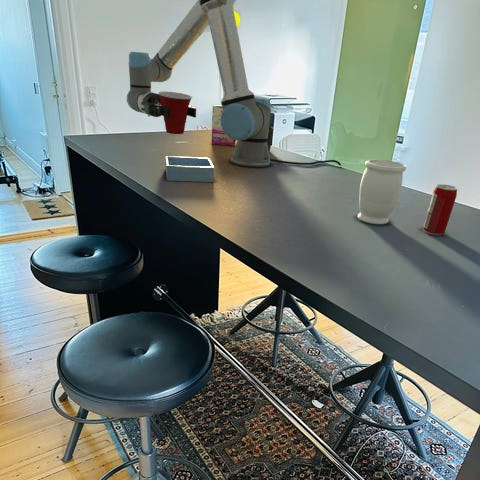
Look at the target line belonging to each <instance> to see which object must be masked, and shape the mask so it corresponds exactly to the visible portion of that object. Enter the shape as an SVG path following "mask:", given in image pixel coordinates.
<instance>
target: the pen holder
mask: <svg viewBox="0 0 480 480" xmlns="http://www.w3.org/2000/svg"><path fill="white" fill-rule="evenodd" d="M273 133H274V127H272V126H269V131H268V141H267V145H268V151H269V152H270V151H271V147H272V140H273Z"/></svg>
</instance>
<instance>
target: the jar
mask: <svg viewBox="0 0 480 480" xmlns="http://www.w3.org/2000/svg"><path fill="white" fill-rule="evenodd" d="M364 165H365V169H364V172H363V174H362V176H361V180H360V185H359V197H358V208H359V211H360V212H359V213H358V214H357V218H358V220H359V221H362V222H363V223H366V224H370V225H385V224H388V223H389V221H390V219H389V216H390V214H391V213H392V212H393V210H394V208H395V206H396V203H397V201H398V199H399V196H400V194H401V191H402V185H403V178H404V176H403V173H404V172H405V171H406V170H407V165H406V164H403V163H401V162H397V161H393V160H388V159H367V160H365V161H364Z"/></svg>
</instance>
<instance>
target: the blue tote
mask: <svg viewBox="0 0 480 480" xmlns="http://www.w3.org/2000/svg"><path fill="white" fill-rule="evenodd" d="M165 176H166V181H168V182H169V181H171V182H196V183H197V182H198V183H200V182H201V183H214V181H215V166H214V165H213V163H212V161H211V159H210V157H193V156H171V155H170V156H169V155H165Z"/></svg>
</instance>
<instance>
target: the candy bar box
mask: <svg viewBox="0 0 480 480" xmlns="http://www.w3.org/2000/svg"><path fill="white" fill-rule="evenodd" d="M222 112H223V109H222V104H221V105H219V104H214V105H212V119H211V145H215V146H216V145H217V146H226V147H235V146H236V143H237V140H234V139H231V138H230V137H228V136H227V135H226V134H225V133H224V131H223V129H222V126H221V115H222Z"/></svg>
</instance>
